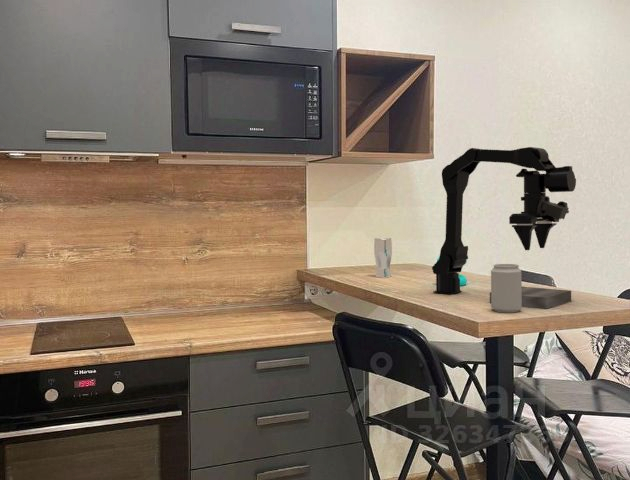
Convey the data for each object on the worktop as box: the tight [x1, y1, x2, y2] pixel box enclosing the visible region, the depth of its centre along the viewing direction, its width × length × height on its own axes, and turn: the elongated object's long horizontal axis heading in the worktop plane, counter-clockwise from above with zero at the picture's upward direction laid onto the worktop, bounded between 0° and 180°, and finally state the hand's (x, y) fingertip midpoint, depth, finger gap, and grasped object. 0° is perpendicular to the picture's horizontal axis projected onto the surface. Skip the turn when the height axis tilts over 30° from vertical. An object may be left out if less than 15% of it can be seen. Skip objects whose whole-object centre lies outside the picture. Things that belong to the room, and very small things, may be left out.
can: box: [490, 263, 523, 314], centre depth 153 cm, size 8×8×12 cm
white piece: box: [373, 237, 393, 279], centre depth 232 cm, size 7×7×15 cm
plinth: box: [489, 286, 572, 310], centre depth 165 cm, size 16×16×3 cm
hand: (534, 249), depth 165 cm, fingers open, 9 cm apart
